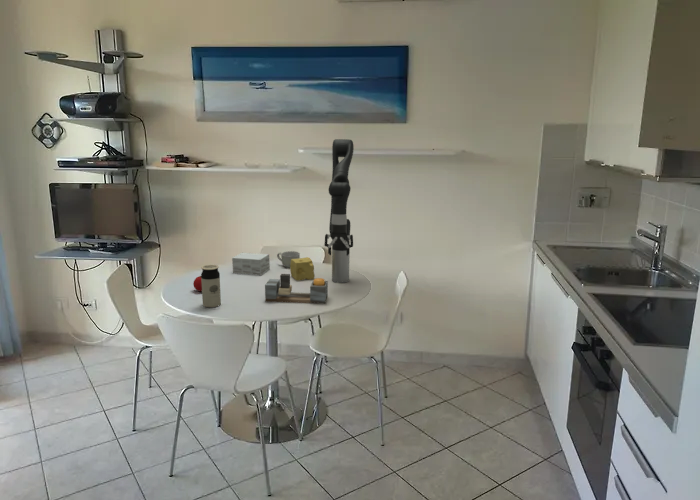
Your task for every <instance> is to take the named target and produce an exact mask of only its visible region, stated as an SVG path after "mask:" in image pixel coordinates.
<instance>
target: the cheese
mask: <svg viewBox="0 0 700 500" xmlns="http://www.w3.org/2000/svg"><path fill="white" fill-rule="evenodd" d="M289 269H290V277H292V278H293V279H294V280H295V281H296V282H298V281H304V280H308V281H309V280H310V281H311V280H314V279H315V277H316V276H315V272H314V271H315V266H314V263H313V260H312V259H311V257H307V256H306V257H302V258H301V257H300V258H299V259H291V263H290V268H289Z"/></svg>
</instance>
